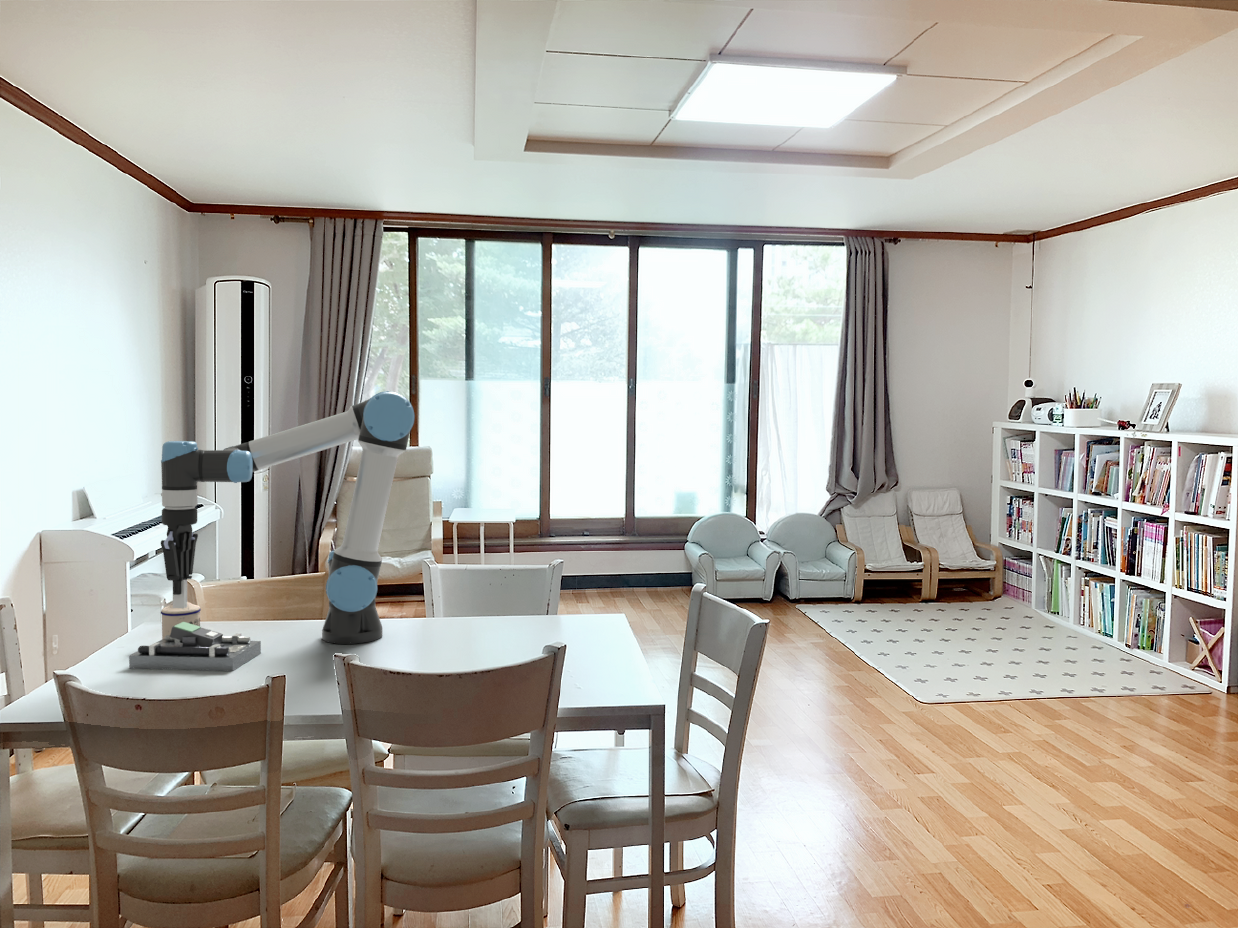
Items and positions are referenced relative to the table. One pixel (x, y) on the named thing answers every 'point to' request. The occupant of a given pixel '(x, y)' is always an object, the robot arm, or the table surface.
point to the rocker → (196, 634)
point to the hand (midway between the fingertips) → (180, 607)
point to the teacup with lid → (179, 617)
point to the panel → (196, 659)
